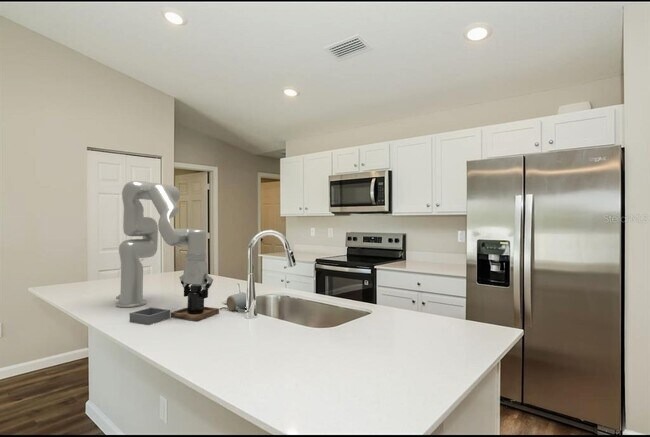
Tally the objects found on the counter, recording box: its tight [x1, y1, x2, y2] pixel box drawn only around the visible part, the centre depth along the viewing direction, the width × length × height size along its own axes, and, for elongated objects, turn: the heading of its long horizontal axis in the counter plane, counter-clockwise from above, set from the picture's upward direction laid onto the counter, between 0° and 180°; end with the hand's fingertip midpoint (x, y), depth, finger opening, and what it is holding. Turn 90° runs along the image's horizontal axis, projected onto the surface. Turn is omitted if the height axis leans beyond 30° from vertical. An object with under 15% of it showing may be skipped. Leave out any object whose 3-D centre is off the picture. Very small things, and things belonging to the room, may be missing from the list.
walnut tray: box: [170, 306, 220, 322], centre depth 155 cm, size 14×14×2 cm
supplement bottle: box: [186, 284, 205, 314], centre depth 155 cm, size 7×7×12 cm
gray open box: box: [129, 307, 171, 326], centre depth 147 cm, size 11×11×4 cm
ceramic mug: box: [226, 291, 247, 313], centre depth 165 cm, size 11×8×8 cm
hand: (195, 297), depth 155 cm, fingers open, 9 cm apart
